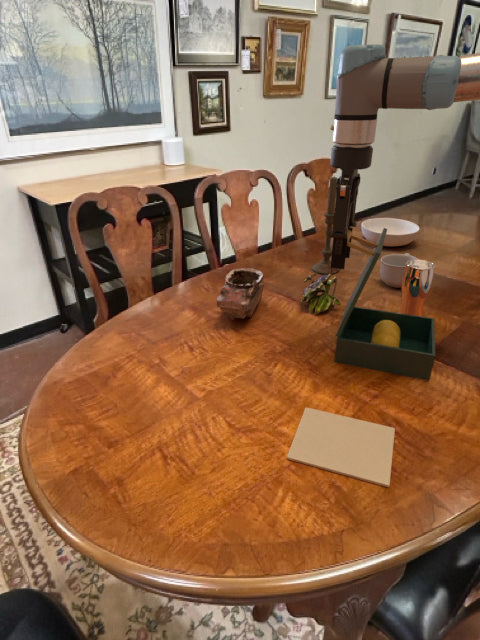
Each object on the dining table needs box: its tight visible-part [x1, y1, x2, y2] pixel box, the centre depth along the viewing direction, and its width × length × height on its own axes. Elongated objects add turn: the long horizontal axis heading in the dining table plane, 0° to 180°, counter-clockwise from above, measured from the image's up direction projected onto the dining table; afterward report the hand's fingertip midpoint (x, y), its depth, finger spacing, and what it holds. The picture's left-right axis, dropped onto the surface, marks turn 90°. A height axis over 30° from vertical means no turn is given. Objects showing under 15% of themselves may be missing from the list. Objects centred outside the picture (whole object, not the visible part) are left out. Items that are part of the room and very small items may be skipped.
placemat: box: [286, 406, 396, 488], centre depth 71 cm, size 16×13×1 cm
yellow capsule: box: [370, 320, 401, 348], centre depth 93 cm, size 12×6×6 cm, turn 159°
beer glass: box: [397, 259, 436, 317], centre depth 105 cm, size 7×7×15 cm
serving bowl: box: [361, 217, 420, 248], centre depth 159 cm, size 21×21×7 cm
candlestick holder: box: [311, 175, 341, 276], centre depth 131 cm, size 9×9×30 cm
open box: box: [334, 305, 436, 381], centre depth 93 cm, size 19×16×7 cm
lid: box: [335, 228, 387, 338], centre depth 90 cm, size 20×16×8 cm
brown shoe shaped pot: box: [216, 267, 265, 320], centre depth 111 cm, size 13×20×10 cm, turn 158°
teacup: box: [379, 252, 420, 289], centre depth 127 cm, size 14×11×8 cm
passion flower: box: [300, 272, 342, 315], centre depth 113 cm, size 11×11×12 cm
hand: (340, 262), depth 89 cm, fingers closed on lid, 6 cm apart
